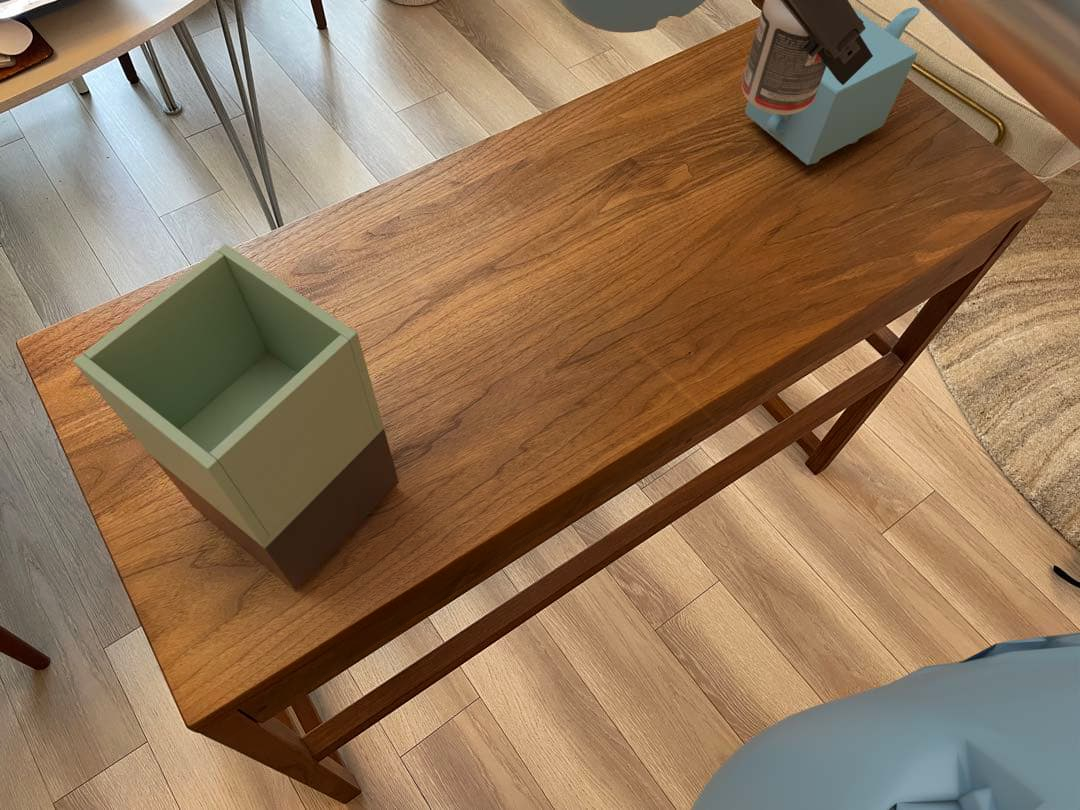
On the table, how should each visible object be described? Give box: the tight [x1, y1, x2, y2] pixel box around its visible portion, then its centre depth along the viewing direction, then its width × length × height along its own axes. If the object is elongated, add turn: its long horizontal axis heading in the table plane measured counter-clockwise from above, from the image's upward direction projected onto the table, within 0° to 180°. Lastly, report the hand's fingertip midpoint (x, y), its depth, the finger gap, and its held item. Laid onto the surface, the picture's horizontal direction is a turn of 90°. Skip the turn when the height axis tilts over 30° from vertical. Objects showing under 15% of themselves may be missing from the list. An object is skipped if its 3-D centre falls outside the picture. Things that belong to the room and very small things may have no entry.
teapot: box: [744, 6, 921, 166], centre depth 95 cm, size 22×11×14 cm, turn 125°
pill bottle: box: [741, 0, 826, 115], centre depth 58 cm, size 6×6×10 cm
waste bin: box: [72, 244, 400, 593], centre depth 62 cm, size 13×13×23 cm
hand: (828, 43), depth 60 cm, fingers closed on pill bottle, 6 cm apart
